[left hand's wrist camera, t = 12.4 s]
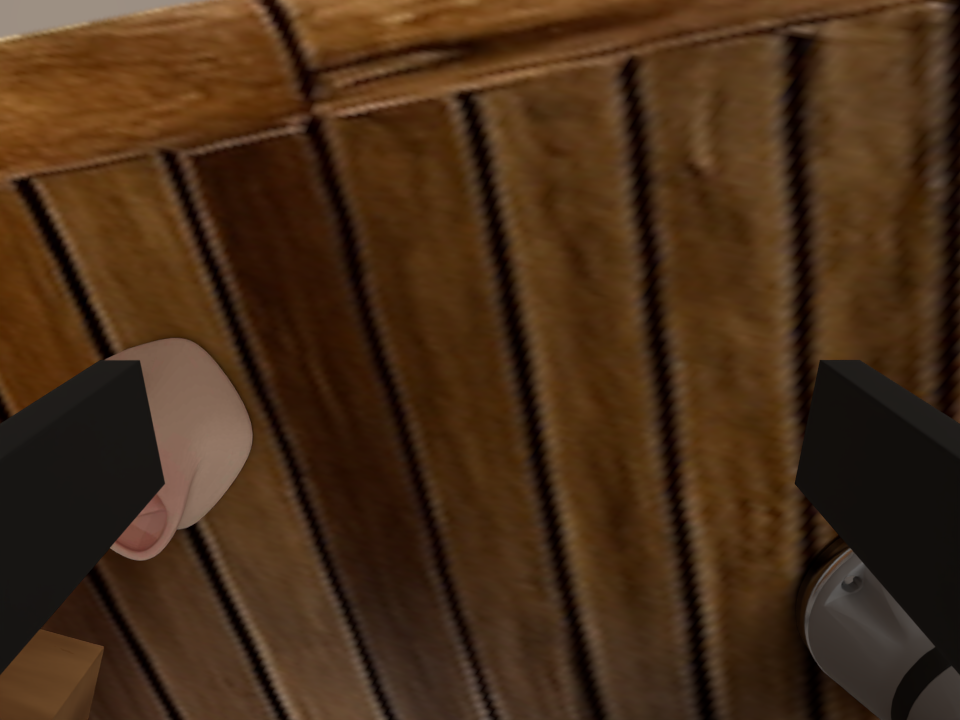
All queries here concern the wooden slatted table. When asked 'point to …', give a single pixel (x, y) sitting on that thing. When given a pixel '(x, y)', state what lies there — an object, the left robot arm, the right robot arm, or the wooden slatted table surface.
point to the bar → (50, 679)
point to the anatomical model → (186, 440)
